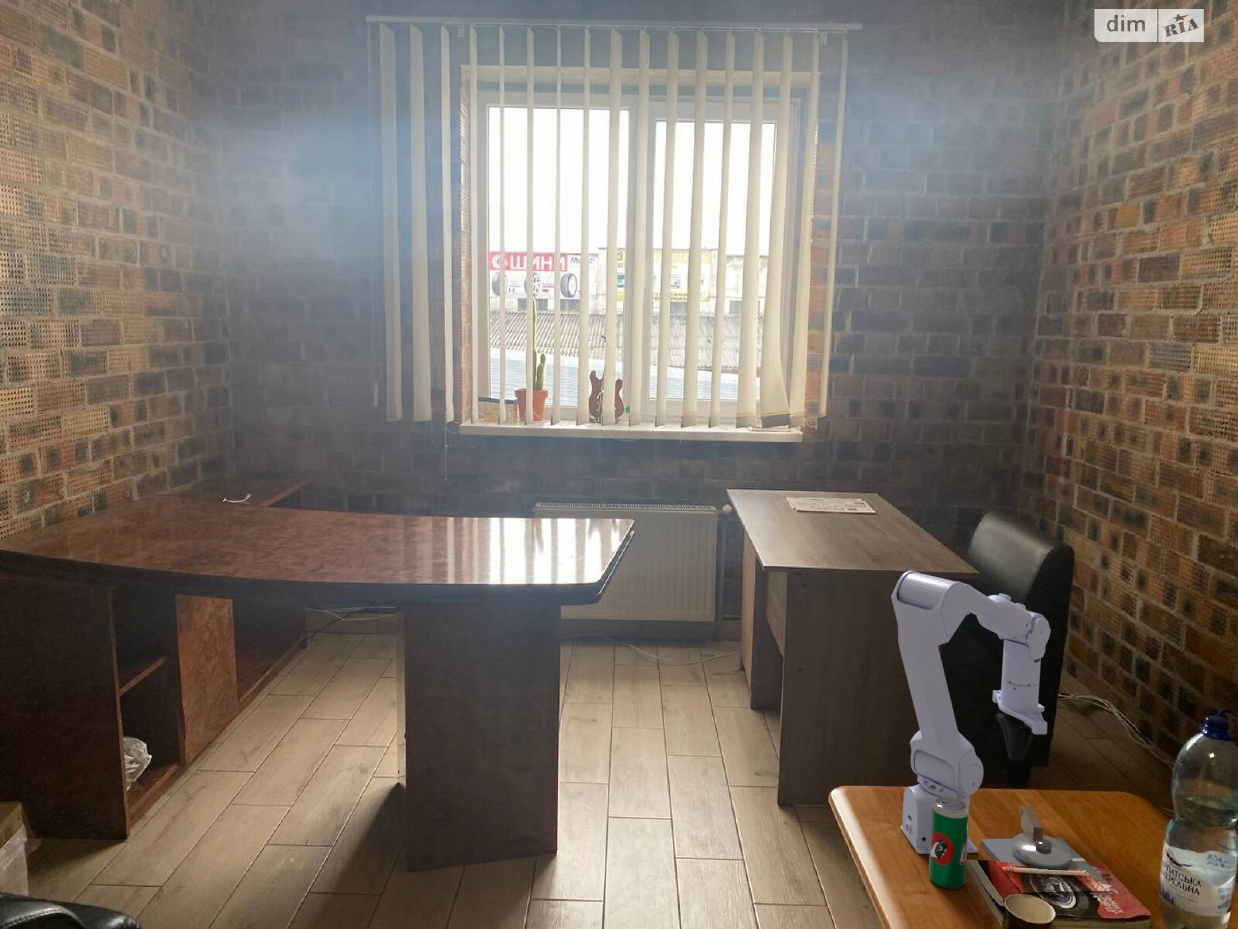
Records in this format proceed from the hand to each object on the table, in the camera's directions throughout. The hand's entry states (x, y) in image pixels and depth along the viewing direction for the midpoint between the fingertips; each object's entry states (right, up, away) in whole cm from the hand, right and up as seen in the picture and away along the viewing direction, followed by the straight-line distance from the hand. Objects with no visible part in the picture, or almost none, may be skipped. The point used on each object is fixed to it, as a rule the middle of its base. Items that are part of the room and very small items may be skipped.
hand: (1015, 758), depth 151 cm
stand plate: (-3, -11, -16) cm, 20 cm away
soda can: (-19, -12, -20) cm, 30 cm away
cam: (-2, -10, -12) cm, 16 cm away
